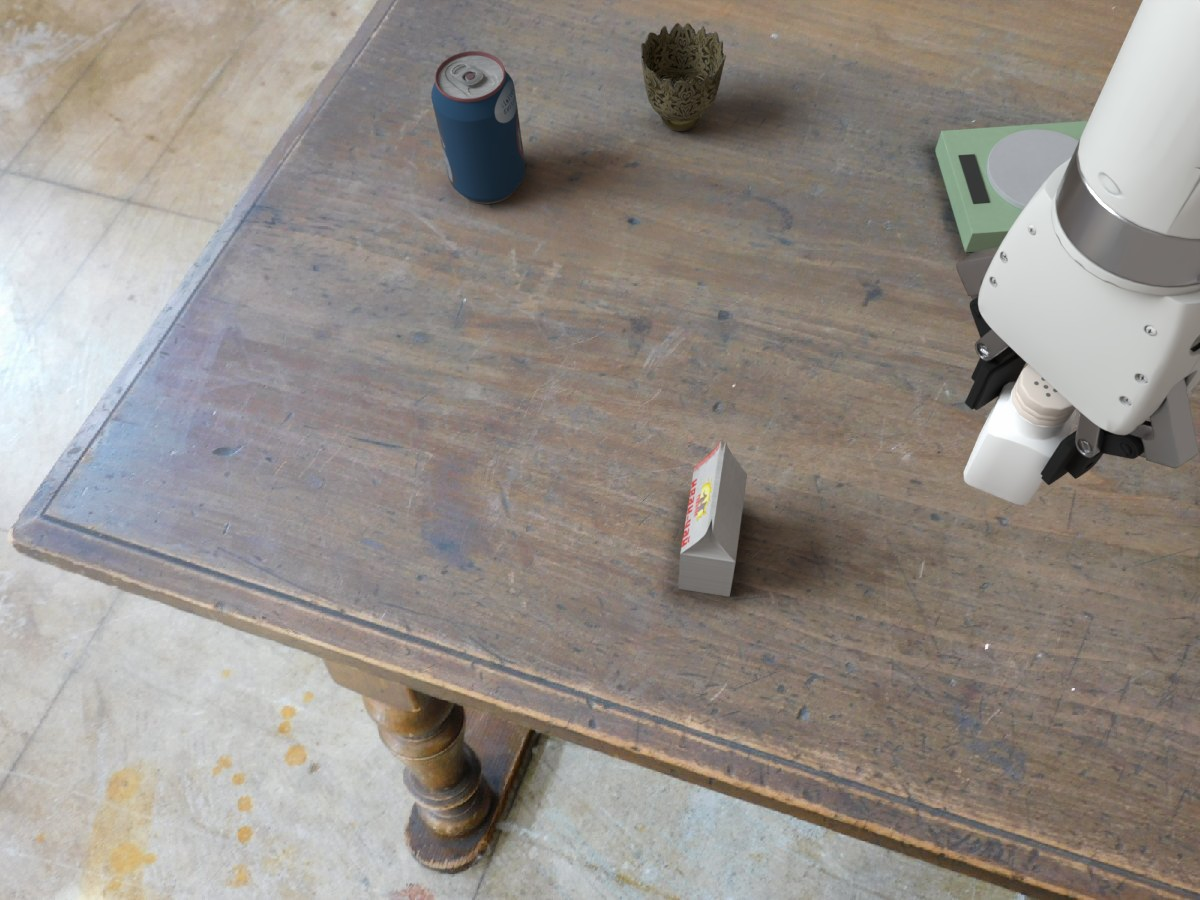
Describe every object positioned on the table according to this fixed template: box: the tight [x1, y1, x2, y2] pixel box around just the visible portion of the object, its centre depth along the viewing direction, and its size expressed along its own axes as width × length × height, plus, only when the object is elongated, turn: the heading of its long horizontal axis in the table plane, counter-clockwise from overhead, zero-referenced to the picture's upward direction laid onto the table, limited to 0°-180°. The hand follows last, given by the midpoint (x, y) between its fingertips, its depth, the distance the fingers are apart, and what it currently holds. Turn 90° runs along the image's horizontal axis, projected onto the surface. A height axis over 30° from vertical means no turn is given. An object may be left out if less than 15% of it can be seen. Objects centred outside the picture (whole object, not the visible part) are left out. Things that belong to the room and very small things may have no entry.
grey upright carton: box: [677, 440, 748, 597], centre depth 74 cm, size 4×7×10 cm, turn 169°
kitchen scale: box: [934, 120, 1088, 253], centre depth 93 cm, size 13×12×3 cm
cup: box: [640, 22, 727, 132], centre depth 97 cm, size 8×7×8 cm
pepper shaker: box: [963, 363, 1077, 506], centre depth 59 cm, size 4×4×10 cm
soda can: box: [431, 50, 526, 205], centre depth 92 cm, size 7×7×12 cm
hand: (1026, 429), depth 59 cm, fingers closed on pepper shaker, 5 cm apart
